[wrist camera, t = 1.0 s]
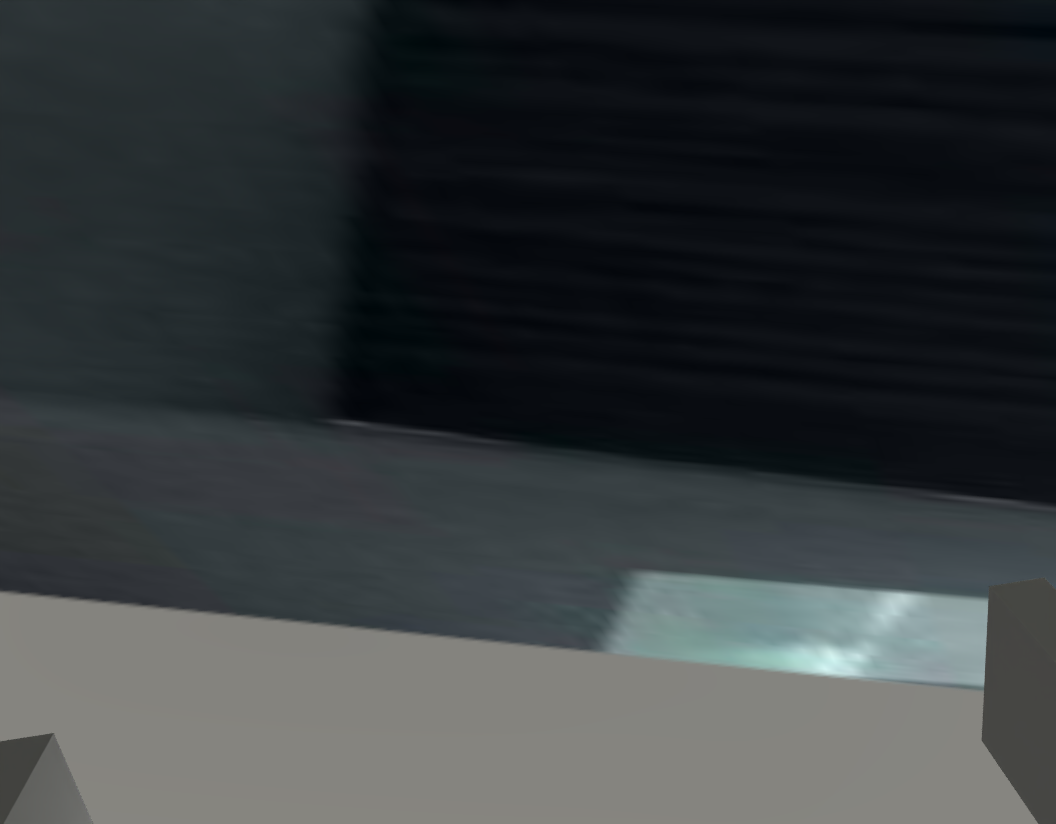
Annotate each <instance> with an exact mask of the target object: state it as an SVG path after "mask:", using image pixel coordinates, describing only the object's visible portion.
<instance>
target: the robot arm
mask: <svg viewBox="0 0 1056 824" xmlns="http://www.w3.org/2000/svg"><path fill="white" fill-rule="evenodd" d="M983 706H984V707H983V727H982V741H983V743H984V744H985V746H986V747H987V749H988V750H989V752H990V753H991V754H992V756H993V758H994V759H995V761H996V762H997V764H998V765H999V767H1000V768H1001V769H1002V771H1003V772H1004V774H1005V775H1006V777H1007V778H1008V780H1009V781H1010V783H1011V784H1012V786H1013V787H1014V788H1015V790H1016V791H1017V793H1018V794H1019V796H1020V797H1021V799H1022V800H1023V802H1024V803H1025V805H1026V806H1027V807H1028V809H1029V811H1030V812H1031V814H1032V815H1033V816H1034V818H1035V819H1036V821H1037V822H1038V824H1056V589H1055V588H1054V587H1053V586H1052V585H1051V584H1050V583H1049V582H1048V581H1047V580H1046V579H1045V578H1039V579H1033V580H1027V581H1020V582H1014V583H1007V584H1001V585H995V586H989V601H988V622H987V642H986V663H985V684H984V705H983ZM0 824H93V822H92V820H91V818H90V815H89V813H88V811H87V808H86V806H85V804H84V802H83V799H82V797H81V795H80V792H79V790H78V788H77V786H76V783H75V781H74V779H73V776H72V774H71V772H70V770H69V767H68V765H67V763H66V761H65V758H64V756H63V754H62V751H61V749H60V747H59V744H58V742H57V740H56V738H55V735H54V733H52V734H45V735H39V736H33V737H27V738H20V739H13V740H7V741H1V742H0Z"/></svg>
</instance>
